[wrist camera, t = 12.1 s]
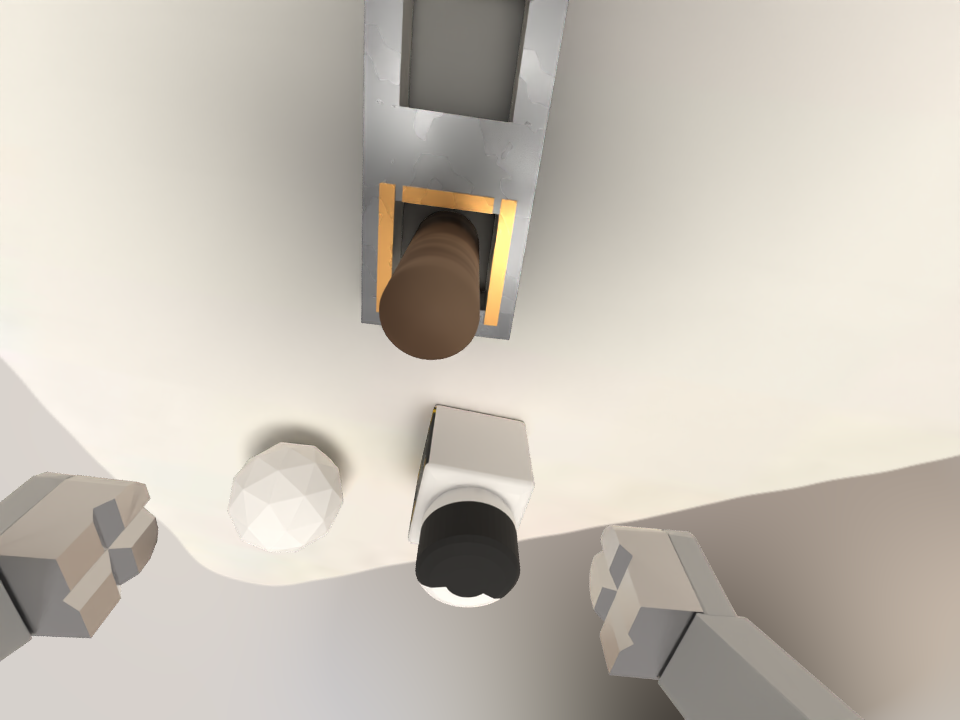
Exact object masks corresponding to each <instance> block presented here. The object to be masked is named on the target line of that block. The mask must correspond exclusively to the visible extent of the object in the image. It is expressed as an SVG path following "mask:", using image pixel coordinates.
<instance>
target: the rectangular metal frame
mask: <svg viewBox="0 0 960 720" xmlns="http://www.w3.org/2000/svg"><path fill="white" fill-rule="evenodd" d="M568 3H569V0H526V1H525V8H524V15H523V22H522V29H521V36H520V43H519V51H518V58H517V65H516V72H515V79H514V86H513V93H512V100H511V107H510V115H509V122H503V121H496V120H490V119H483V118H476V117H469V116H462V115H456V114H449V113H442V112H435V111H428V110H422V109H415V108H409V89H410V69H411V49H412V29H413V9H414V0H365V20H364V117H363V215H362V312H361V323H367V324H376V325H381V322H380V318H379V303H380V299H381V296H382V293H383V291H384V289H385V287H386V286H387V284H388V282H389V280H390V278H391V277H392V275H393V273H394V271H395V269H396V268H397V266H398V264H399V262H400V260H401V248H402V228H403V208H404V202H406V203H414V204H421V205H429V206H436V207H444V208H451V209H459V210H466V211H474V212H481V213H489V214H492V213H494V214H495V221H494V228H493V235H492V243H491V250H490V257H489V264H488V271H487V278H486V285H485V291H480V320H479V326H478V329H477V332H476V334H475V336H480V337H488V338H497V339H506V340H509V338H510V333H511V327H512V321H513V316H514V310H515V304H516V298H517V293H518V287H519V281H520V276H521V270H522V264H523V259H524V253H525V247H526V242H527V236H528V230H529V225H530V219H531V213H532V207H533V202H534V196H535V190H536V185H537V179H538V173H539V168H540V162H541V156H542V151H543V145H544V139H545V133H546V128H547V122H548V116H549V111H550V105H551V99H552V94H553V88H554V82H555V77H556V71H557V65H558V59H559V54H560V48H561V42H562V37H563V31H564V25H565V20H566V14H567V8H568Z"/></svg>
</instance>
